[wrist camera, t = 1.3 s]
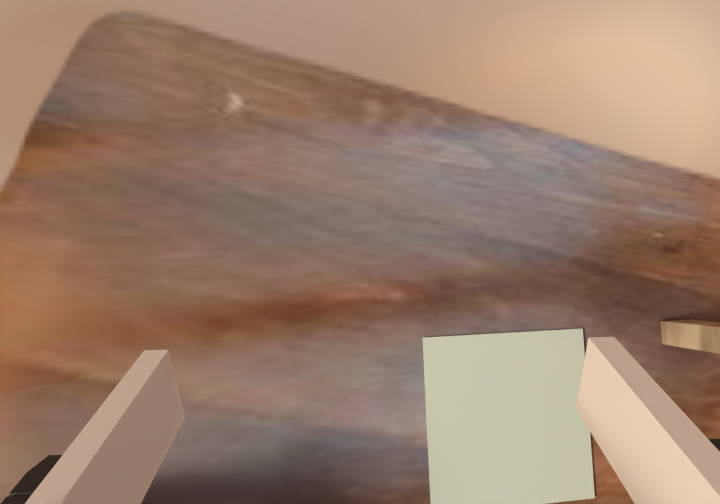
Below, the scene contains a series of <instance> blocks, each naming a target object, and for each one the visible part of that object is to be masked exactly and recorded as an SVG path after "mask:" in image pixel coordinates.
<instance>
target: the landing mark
mask: <svg viewBox="0 0 720 504" xmlns="http://www.w3.org/2000/svg"><path fill="white" fill-rule="evenodd" d="M423 357H424V378H425V399H426V419H427V440H428V461H429V482H430V503H431V504H546V503H555V502H564V501H573V500H583V499H592V498H595V492H594V478H593V464H592V450H591V436H590V430H589V429H588V427H587V425H586V424H585V422H584V421H583V419H582V417H581V416H580V414H579V412H578V411H577V409H576V404H577V398H578V393H579V387H580V382H581V377H582V371H583V366H584V360H585V353H584V339H583V329H582V328H579V329H561V330H543V331H526V332H508V333H490V334H473V335H455V336H438V337H423Z"/></svg>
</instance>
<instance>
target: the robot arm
mask: <svg viewBox="0 0 720 504" xmlns="http://www.w3.org/2000/svg"><path fill="white" fill-rule="evenodd" d="M576 409H577V411H578V412H579V414H580V416H581V417H582V419H583V421H584V422H585V424H586V425H587V427H588V429H589V430H590V432H591V434H592V435H593V437H594V438H595V440H596V442H597V443H598V445H599V447H600V448H601V450H602V451H603V453H604V455H605V456H606V458H607V460H608V461H609V463H610V464H611V466H612V468H613V469H614V471H615V472H616V474H617V476H618V477H619V479H620V481H621V482H622V484H623V485H624V487H625V489H626V490H627V492H628V494H629V495H630V497H631V498H632V500H633V502H634V503H635V504H720V439H708V438H707V437H706V436H705V435H704V434H703V433H702V432H701V431H700V430H699V429H698V428H697V427H696V425H695V424H694V423H693V422H692V421H691V420H690V419H689V418H688V417H687V416H686V415H685V414H684V412H683V411H682V410H681V409H680V408H679V407H678V406H677V405H676V404H675V403H674V402H673V400H672V399H671V398H670V397H669V396H668V395H667V394H666V393H665V392H664V391H663V390H662V389H661V387H660V386H659V385H658V384H657V383H656V382H655V381H654V380H653V379H652V378H651V377H650V376H649V374H648V373H647V372H646V371H645V370H644V369H643V368H642V367H641V366H640V365H639V364H638V362H637V361H636V360H635V359H634V358H633V357H632V356H631V355H630V354H629V353H628V352H627V351H626V349H625V348H624V347H623V346H622V345H621V344H620V343H619V342H618V341H617V340H616V339H615V338H614V337H592V338H589V339H588V344H587V349H586V355H585V360H584V366H583V371H582V377H581V382H580V387H579V393H578V398H577V404H576ZM184 419H185V415H184V411H183V407H182V403H181V399H180V395H179V391H178V387H177V383H176V379H175V375H174V371H173V367H172V363H171V359H170V355H169V351H168V350H146V351H144V352H143V353H142V354H141V355H140V357H139V358H138V359H137V361H136V362H135V363H134V364H133V366H132V367H131V368H130V369H129V371H128V372H127V373H126V375H125V376H124V377H123V378H122V380H121V381H120V382H119V384H118V385H117V386H116V387H115V389H114V390H113V391H112V393H111V394H110V395H109V396H108V398H107V399H106V400H105V401H104V403H103V404H102V405H101V407H100V408H99V409H98V410H97V412H96V413H95V414H94V416H93V417H92V418H91V419H90V421H89V422H88V423H87V425H86V426H85V427H84V428H83V430H82V431H81V432H80V434H79V435H78V436H77V437H76V439H75V440H74V441H73V442H72V444H71V445H70V446H69V448H68V449H67V450H66V451H65V453H64V454H63V455H49V456H48V457H46V458H45V459H44V460H42V461H41V462H40V463H39V464H37V465H36V466H35V467H33V468H32V469H31V470H30V471H28V472H27V473H26V474H25V475H24V477H23V478H22V479H21V480H20V481H19V483H18V484H17V485H16V486H15V487H14V489H13V490H12V491H11V492H10V496H9V497H6V498H5V499H4V500H3V502H2V503H1V504H141V502H142V501H143V499H144V497H145V495H146V493H147V491H148V489H149V487H150V485H151V483H152V481H153V479H154V477H155V475H156V473H157V471H158V469H159V467H160V466H161V464H162V462H163V460H164V458H165V456H166V454H167V452H168V450H169V448H170V446H171V444H172V442H173V440H174V438H175V436H176V434H177V432H178V431H179V429H180V427H181V425H182V423H183V421H184Z"/></svg>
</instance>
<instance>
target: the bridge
mask: <svg viewBox="0 0 720 504" xmlns="http://www.w3.org/2000/svg"><path fill="white" fill-rule="evenodd" d="M660 326H661V338H662V344H665V345H671V346H677V347H683V348H689V349H695V350H701V351H707V352H712V353H718V354H720V322H714V321H703V320H693V319H687V320H669V321H660Z"/></svg>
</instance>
